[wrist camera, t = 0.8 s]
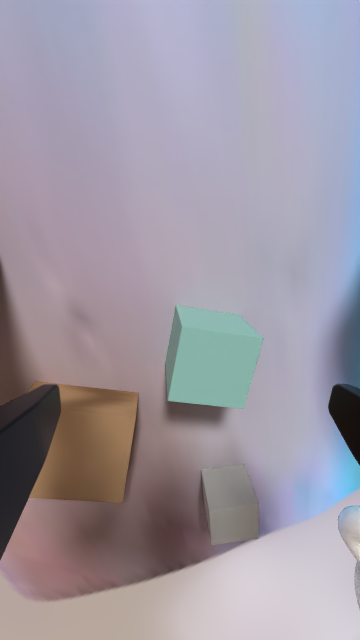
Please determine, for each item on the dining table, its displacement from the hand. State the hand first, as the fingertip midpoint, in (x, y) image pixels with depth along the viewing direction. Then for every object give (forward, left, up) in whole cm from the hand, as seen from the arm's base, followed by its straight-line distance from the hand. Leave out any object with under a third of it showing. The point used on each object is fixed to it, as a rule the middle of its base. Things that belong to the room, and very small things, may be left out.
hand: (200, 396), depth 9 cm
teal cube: (-3, +3, -12) cm, 13 cm away
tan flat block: (+6, +12, -13) cm, 18 cm away
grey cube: (-8, +17, -12) cm, 22 cm away
